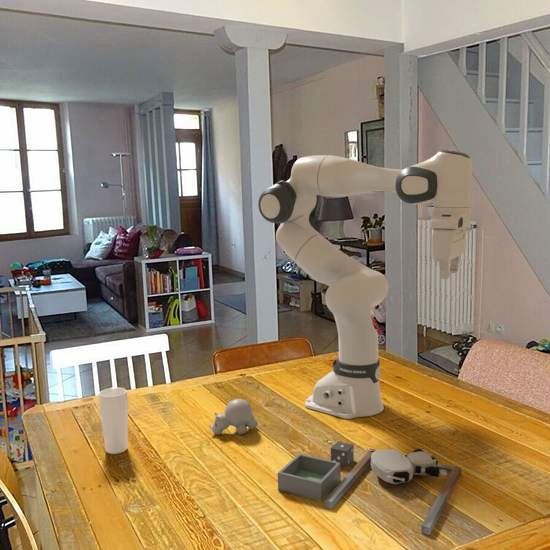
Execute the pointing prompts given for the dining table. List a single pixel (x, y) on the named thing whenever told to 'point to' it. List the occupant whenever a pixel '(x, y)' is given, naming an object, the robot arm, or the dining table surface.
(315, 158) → the robot arm
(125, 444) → the drinking glass
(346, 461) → the die
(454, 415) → the dining table surface
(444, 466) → the track
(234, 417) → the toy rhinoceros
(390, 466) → the robot toy
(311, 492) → the tray
